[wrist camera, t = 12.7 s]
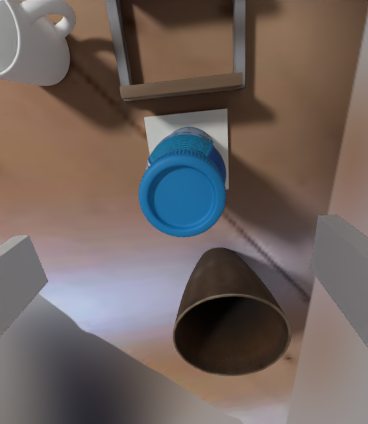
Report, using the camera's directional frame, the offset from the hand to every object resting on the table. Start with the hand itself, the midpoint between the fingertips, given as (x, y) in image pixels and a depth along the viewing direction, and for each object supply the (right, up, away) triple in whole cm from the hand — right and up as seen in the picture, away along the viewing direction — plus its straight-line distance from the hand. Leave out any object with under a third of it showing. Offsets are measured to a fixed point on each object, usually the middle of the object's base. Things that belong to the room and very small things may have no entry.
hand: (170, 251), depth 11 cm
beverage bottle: (+1, +11, +25) cm, 27 cm away
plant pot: (+7, -8, +33) cm, 35 cm away
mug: (-17, +24, +21) cm, 36 cm away
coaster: (+1, +11, +25) cm, 28 cm away
